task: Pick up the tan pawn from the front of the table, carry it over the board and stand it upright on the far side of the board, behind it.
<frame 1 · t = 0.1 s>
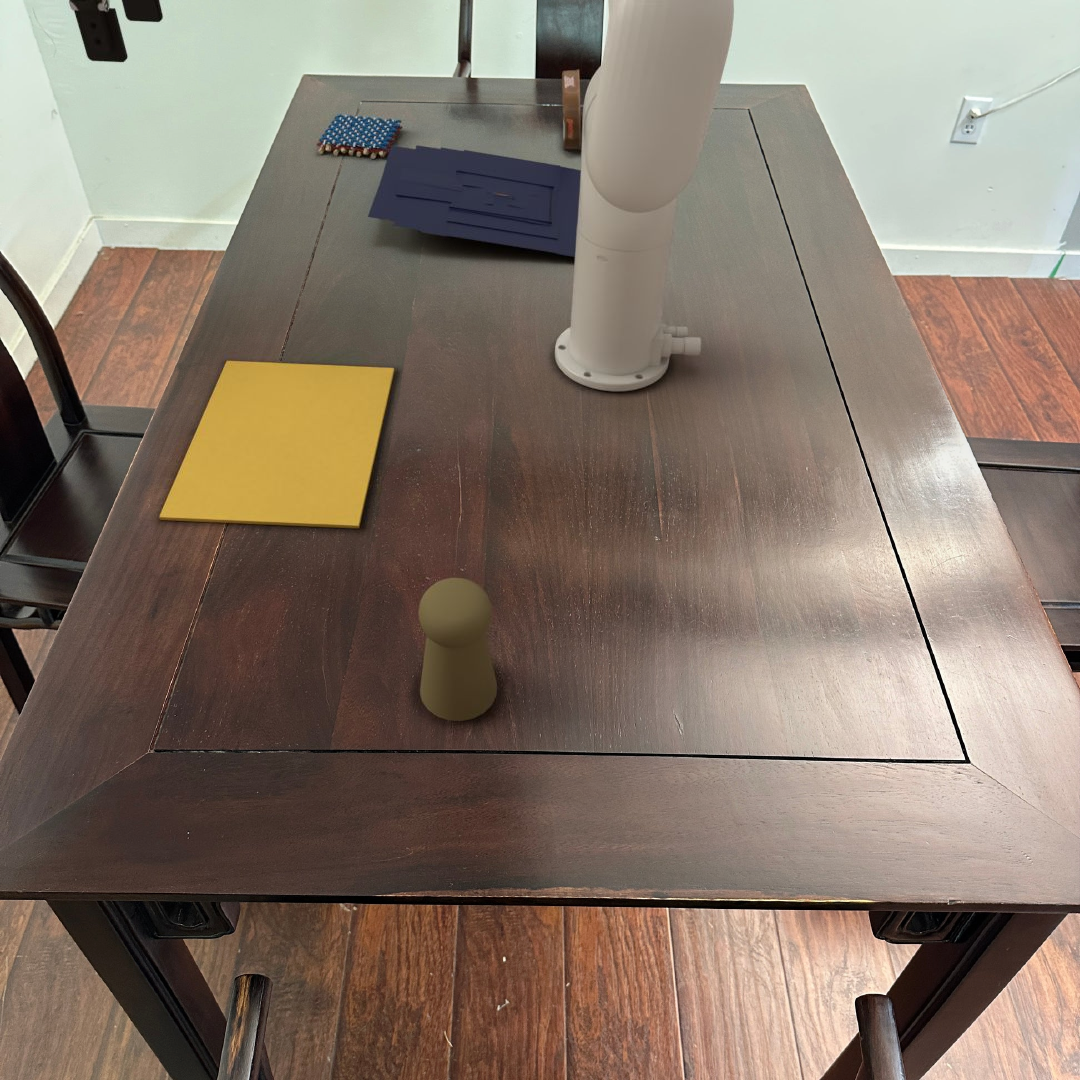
hand: (127, 39, 84), 31 cm above the table, tool pointing down, fingers open, 9 cm apart
board: (287, 438, 95), on the table
tin: (569, 138, 147), on the table
woven mat: (360, 143, 143), on the table
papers: (493, 215, 129), on the table
tan pawn: (458, 690, 75), on the table
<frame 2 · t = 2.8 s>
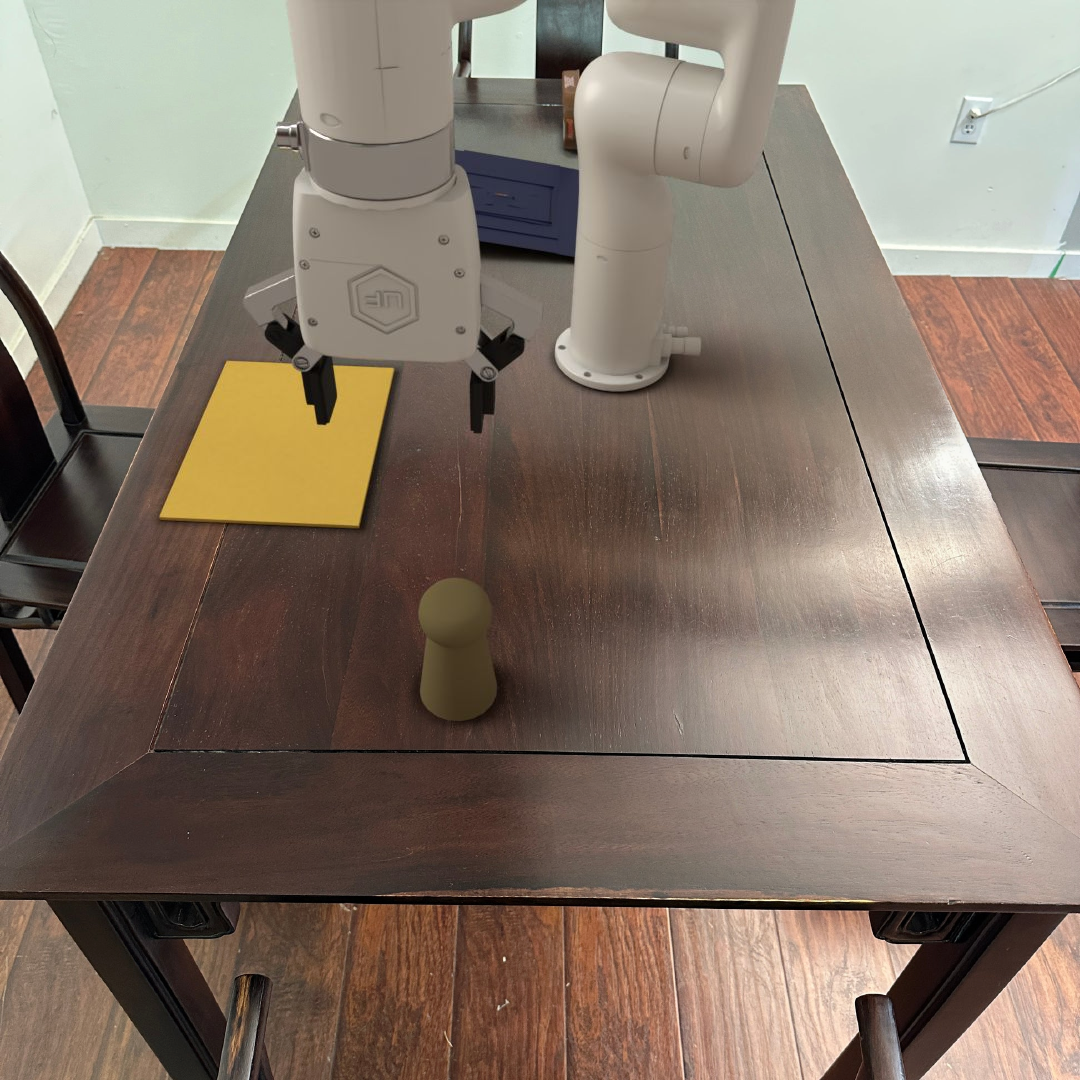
hand: (402, 415, 62), 23 cm above the table, tool pointing down, fingers open, 9 cm apart
nothing on the table moved.
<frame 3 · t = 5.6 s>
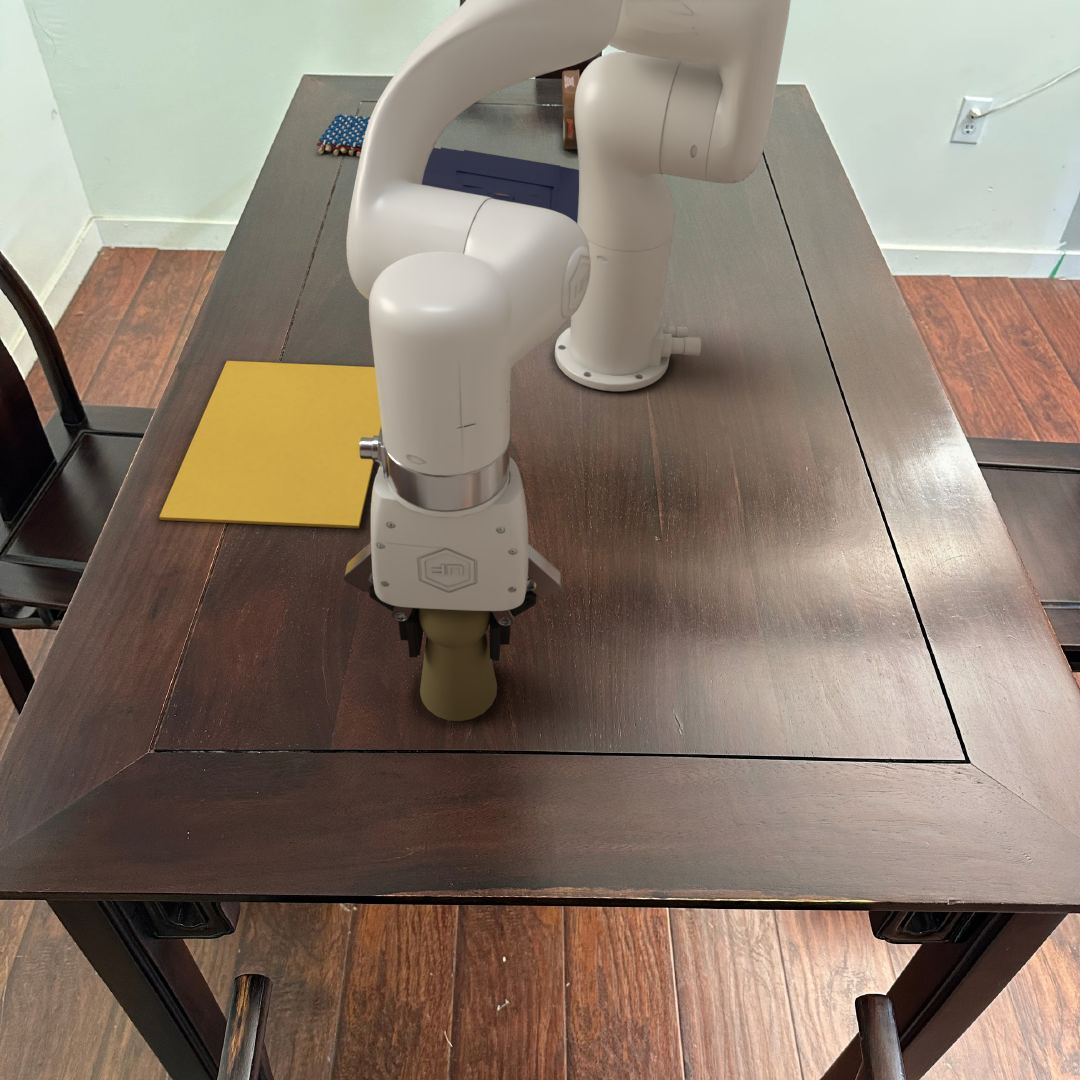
hand: (456, 642, 71), 6 cm above the table, tool pointing down, fingers closed on tan pawn, 5 cm apart
tan pawn: (458, 690, 75), on the table, touching gripper
everything else where it was.
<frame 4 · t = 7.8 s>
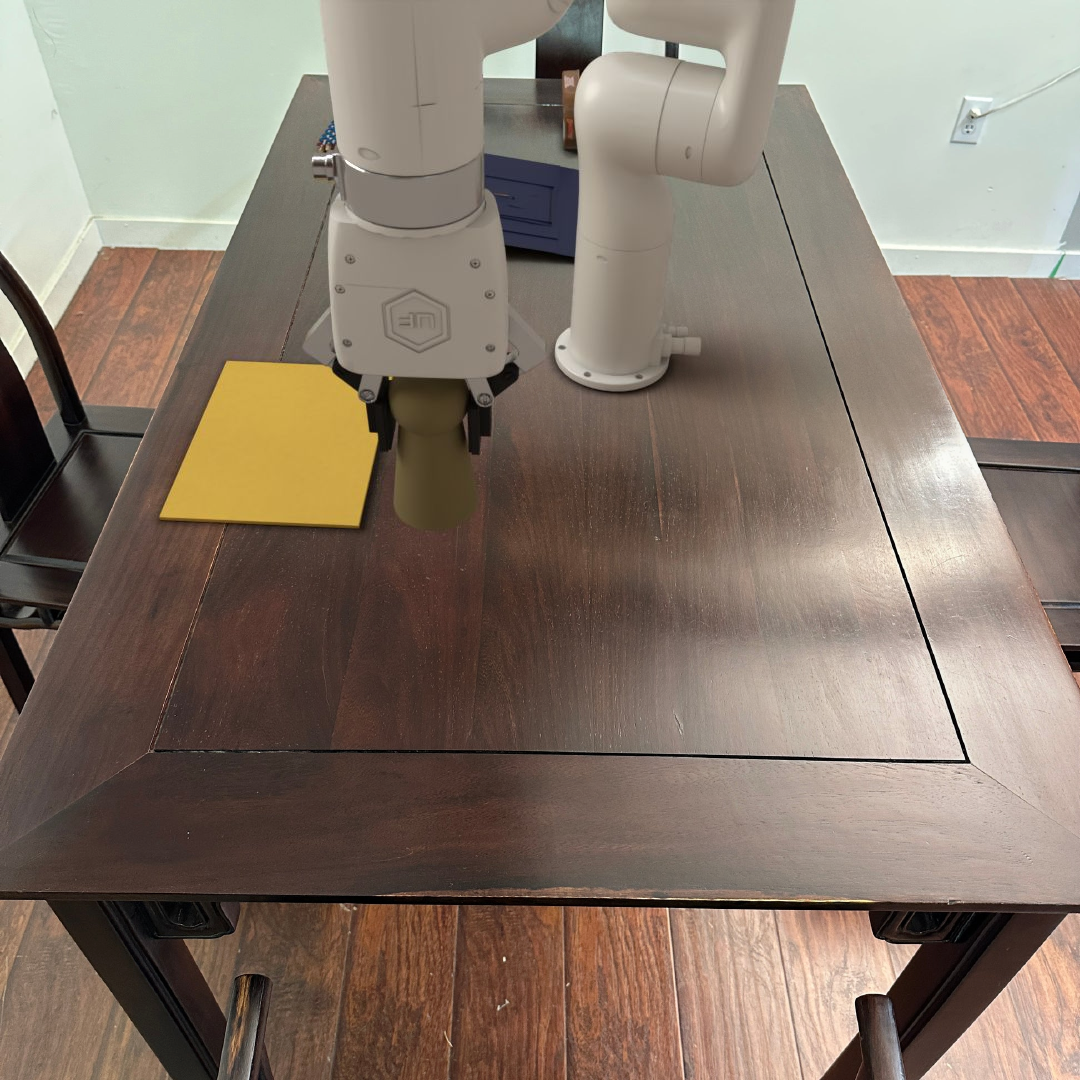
hand: (431, 437, 64), 21 cm above the table, tool pointing down, fingers closed on tan pawn, 5 cm apart
tan pawn: (436, 502, 68), point 15 cm above the table, touching gripper
everything else where it was.
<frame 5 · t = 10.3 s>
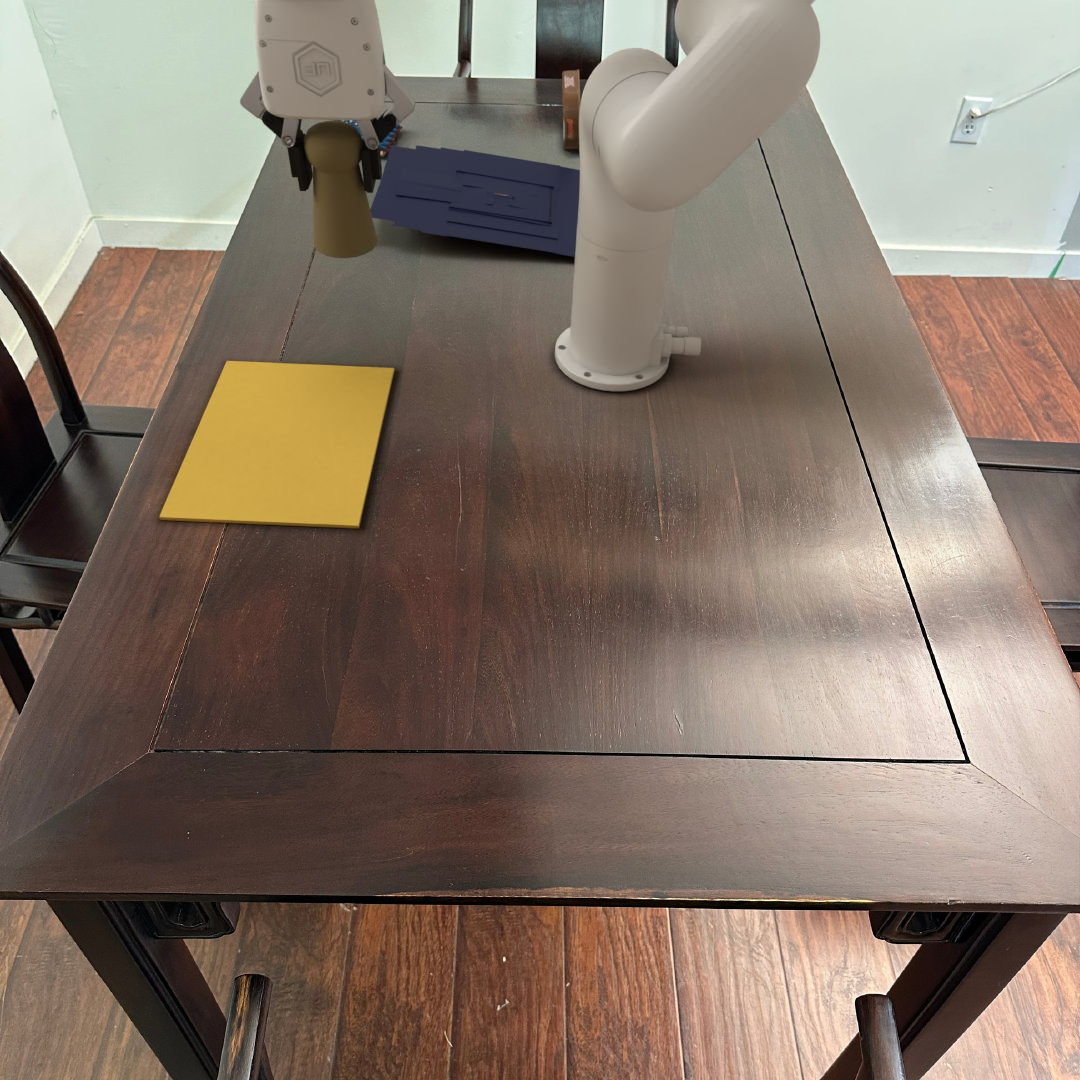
hand: (338, 183, 88), 21 cm above the table, tool pointing down, fingers closed on tan pawn, 5 cm apart
tan pawn: (346, 244, 92), point 15 cm above the table, touching gripper
everything else where it was.
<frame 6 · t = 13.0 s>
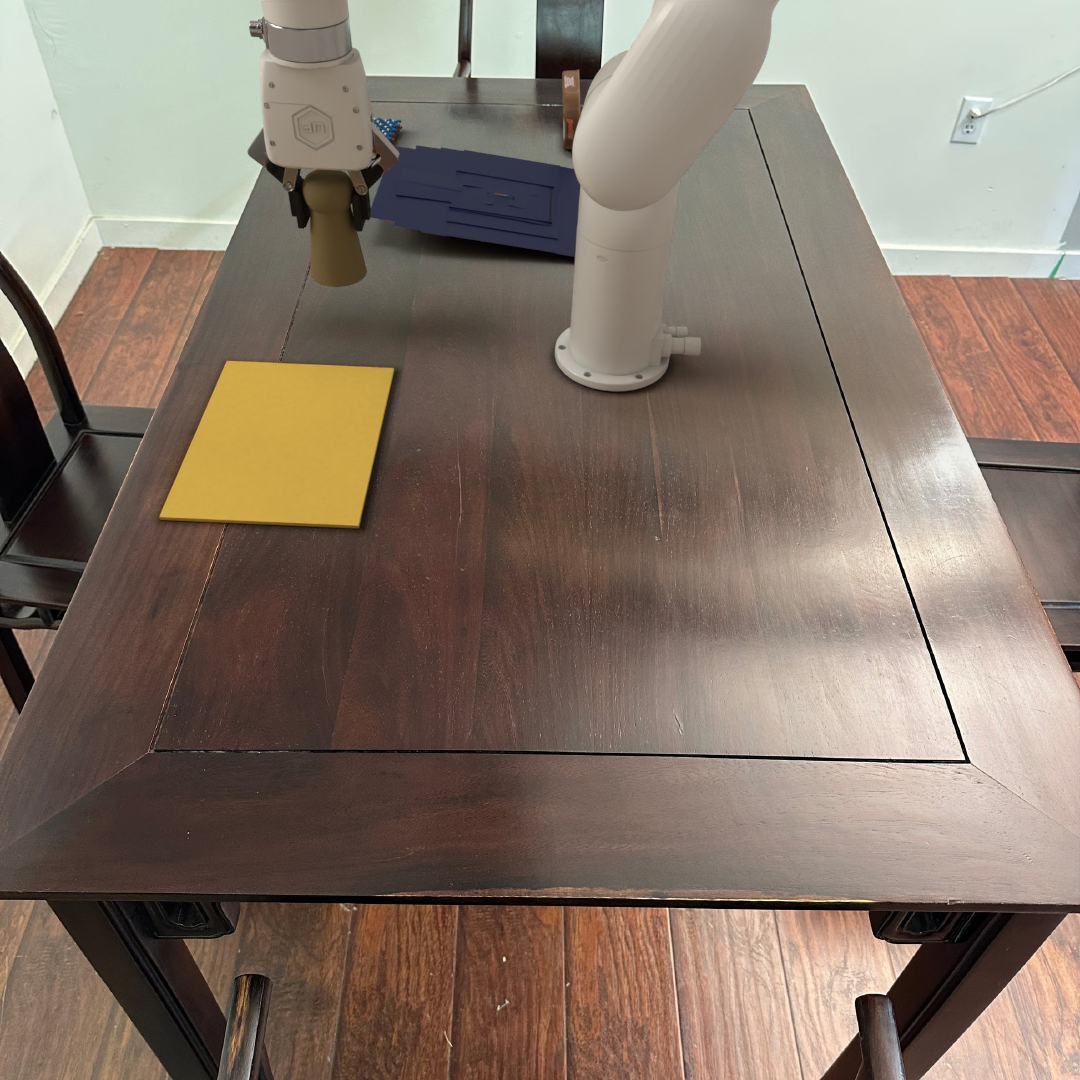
hand: (332, 222, 100), 13 cm above the table, tool pointing down, fingers closed on tan pawn, 5 cm apart
tan pawn: (339, 273, 105), point 7 cm above the table, touching gripper
everything else where it was.
when the fingers open (6 cm above the table, at t = 15.0 s): tan pawn stays where it is, on the table.
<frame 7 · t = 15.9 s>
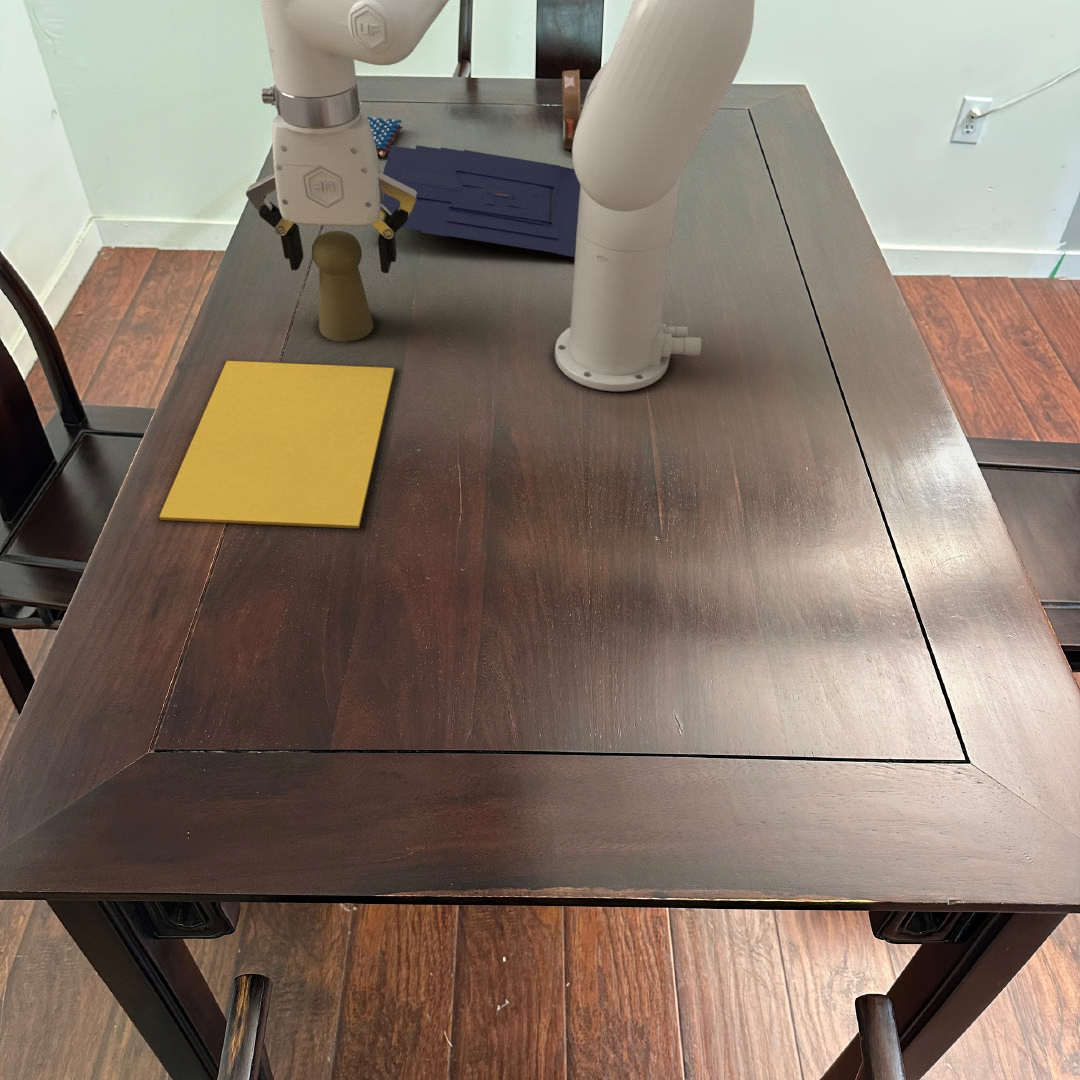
hand: (342, 265, 104), 8 cm above the table, tool pointing down, fingers open, 9 cm apart
tan pawn: (346, 328, 110), on the table
everything else where it was.
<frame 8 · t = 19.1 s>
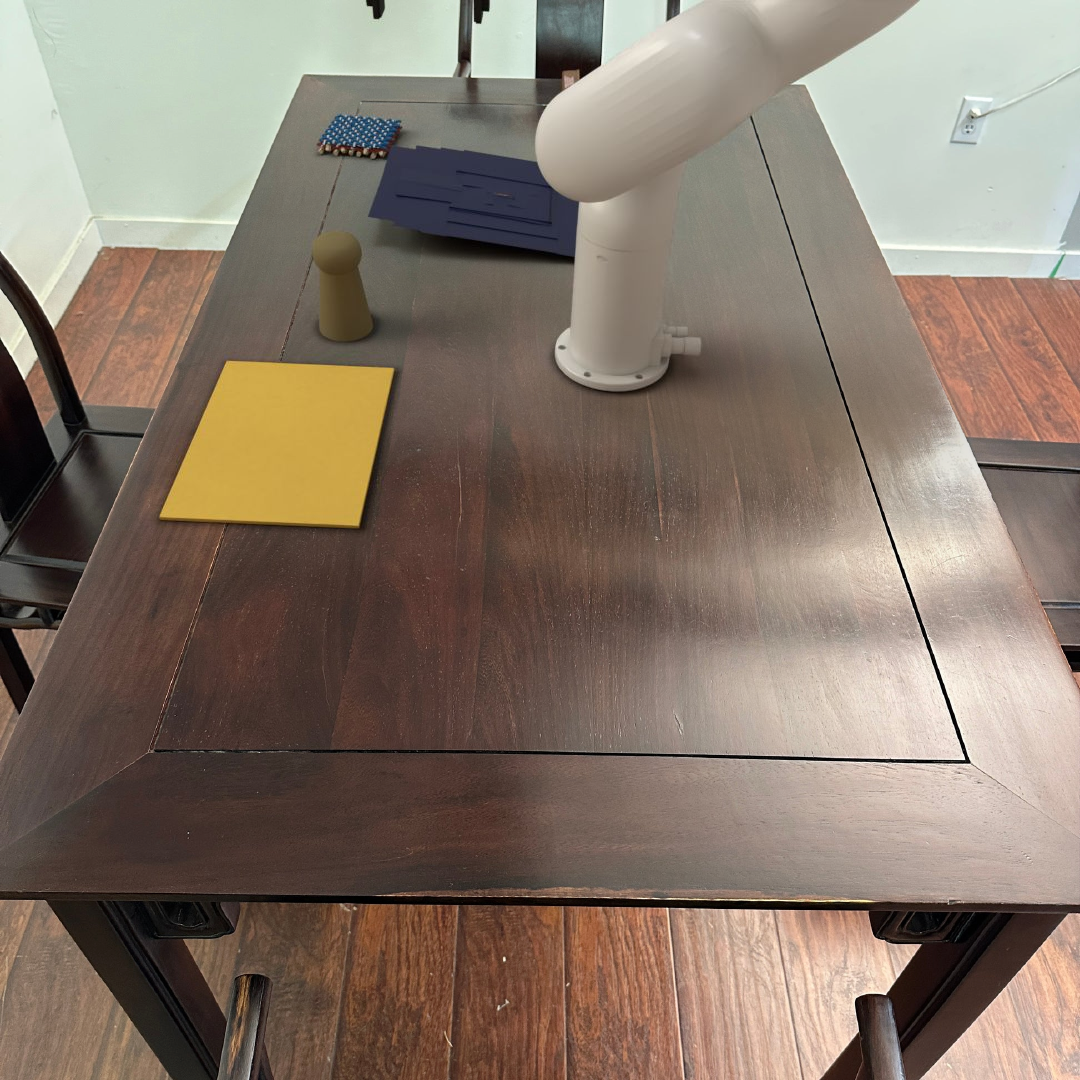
hand: (429, 16, 93), 30 cm above the table, tool pointing down, fingers open, 9 cm apart
nothing on the table moved.
at the end: tan pawn inside the target area on the table beside the board (0.5 cm from its centre), on the table; tan pawn tilted 0°; tan pawn touching table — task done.
